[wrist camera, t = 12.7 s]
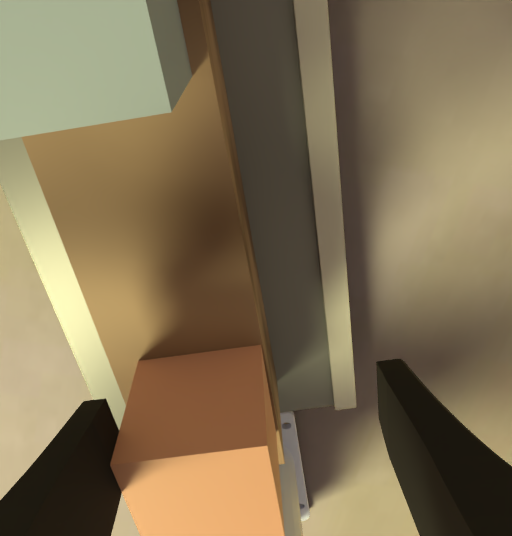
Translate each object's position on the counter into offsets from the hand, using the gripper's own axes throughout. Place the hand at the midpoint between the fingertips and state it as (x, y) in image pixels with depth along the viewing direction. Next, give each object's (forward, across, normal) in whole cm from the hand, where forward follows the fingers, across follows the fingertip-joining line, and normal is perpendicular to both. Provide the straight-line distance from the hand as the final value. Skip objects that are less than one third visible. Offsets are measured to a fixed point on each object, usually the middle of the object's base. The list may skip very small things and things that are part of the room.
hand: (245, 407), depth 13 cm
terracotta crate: (+3, +2, +2) cm, 4 cm away
